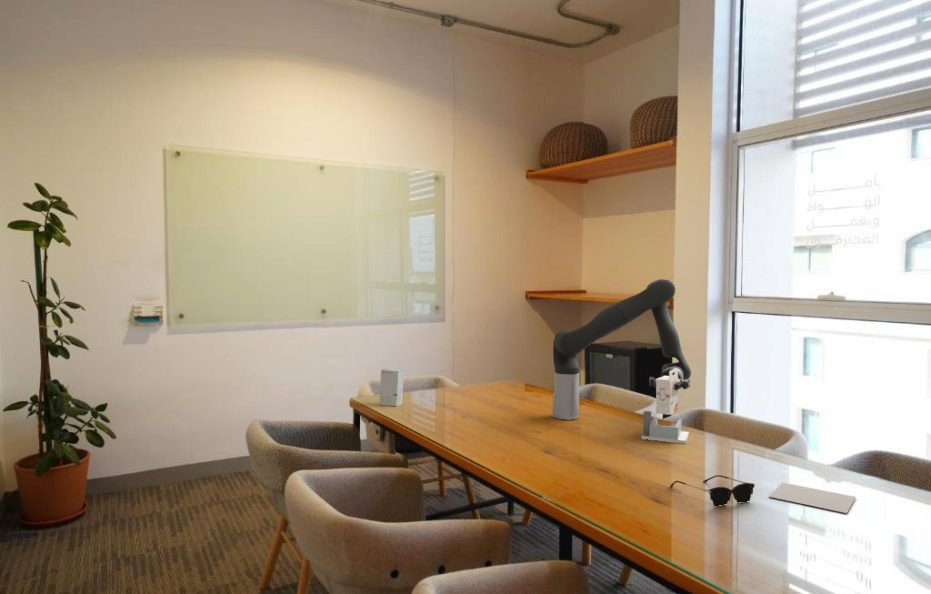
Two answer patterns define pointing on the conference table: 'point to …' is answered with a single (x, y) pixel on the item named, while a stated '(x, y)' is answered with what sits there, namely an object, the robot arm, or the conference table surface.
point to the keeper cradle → (662, 430)
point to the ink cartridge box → (667, 393)
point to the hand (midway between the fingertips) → (666, 386)
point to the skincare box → (391, 387)
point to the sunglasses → (727, 492)
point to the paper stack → (813, 497)
